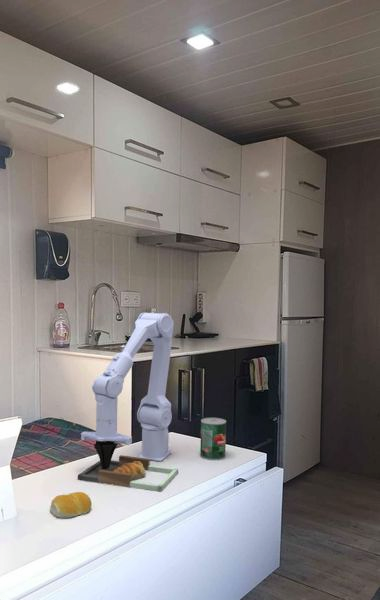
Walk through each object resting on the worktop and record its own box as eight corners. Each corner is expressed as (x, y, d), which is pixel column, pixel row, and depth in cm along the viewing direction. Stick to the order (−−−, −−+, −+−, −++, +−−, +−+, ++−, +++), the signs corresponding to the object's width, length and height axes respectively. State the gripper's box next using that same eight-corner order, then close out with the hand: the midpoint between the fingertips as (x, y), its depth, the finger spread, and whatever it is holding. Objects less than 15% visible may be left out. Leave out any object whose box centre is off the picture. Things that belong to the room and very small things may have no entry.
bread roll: (97, 512, 113) (97, 494, 113) (60, 522, 107) (61, 504, 107) (80, 500, 119) (81, 483, 119) (45, 509, 113) (45, 492, 113)
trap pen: (101, 463, 145) (101, 459, 145) (120, 465, 143) (120, 461, 143) (77, 479, 131) (77, 475, 131) (98, 482, 130) (98, 478, 130)
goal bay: (149, 469, 140) (149, 465, 140) (178, 472, 138) (178, 468, 138) (129, 487, 127) (129, 482, 127) (160, 491, 125) (161, 486, 125)
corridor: (120, 465, 143) (120, 455, 143) (149, 469, 140) (149, 458, 140) (98, 482, 130) (98, 471, 130) (129, 487, 127) (130, 475, 127)
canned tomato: (225, 460, 149) (225, 424, 149) (199, 459, 150) (199, 423, 150) (225, 452, 157) (226, 418, 157) (201, 451, 158) (201, 417, 158)
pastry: (118, 485, 128) (118, 471, 128) (104, 478, 133) (104, 464, 133) (147, 477, 134) (147, 463, 134) (133, 471, 140) (133, 457, 140)
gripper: (75, 419, 135) (74, 469, 135) (124, 424, 131) (123, 476, 131) (88, 414, 142) (87, 461, 142) (135, 418, 137) (134, 467, 137)
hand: (105, 468), depth 137 cm, fingers closed
